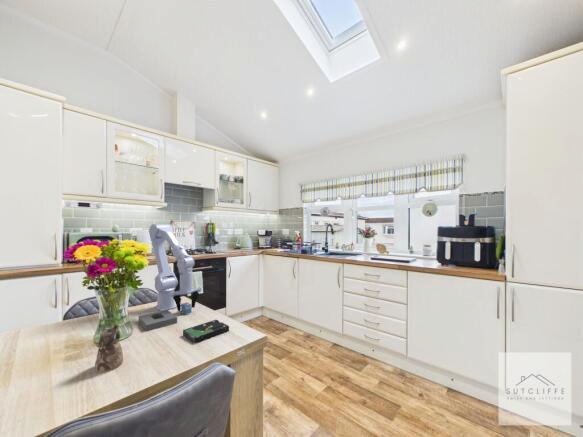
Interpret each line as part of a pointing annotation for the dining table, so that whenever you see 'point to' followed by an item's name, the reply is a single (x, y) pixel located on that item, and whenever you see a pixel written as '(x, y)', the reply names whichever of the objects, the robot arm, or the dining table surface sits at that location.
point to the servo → (186, 308)
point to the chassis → (157, 320)
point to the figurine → (109, 351)
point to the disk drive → (205, 331)
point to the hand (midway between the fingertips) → (186, 308)
